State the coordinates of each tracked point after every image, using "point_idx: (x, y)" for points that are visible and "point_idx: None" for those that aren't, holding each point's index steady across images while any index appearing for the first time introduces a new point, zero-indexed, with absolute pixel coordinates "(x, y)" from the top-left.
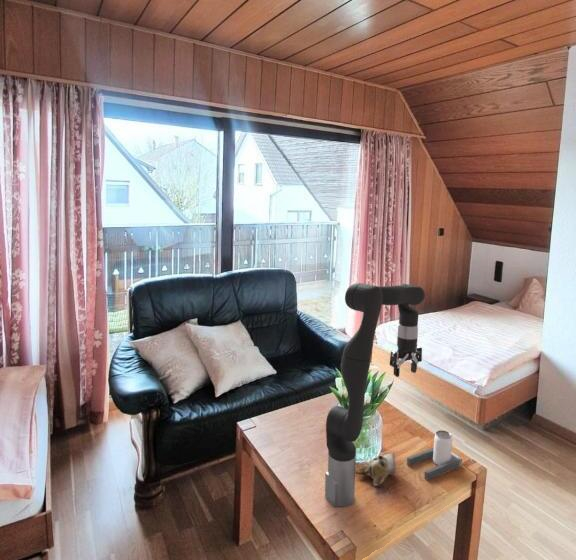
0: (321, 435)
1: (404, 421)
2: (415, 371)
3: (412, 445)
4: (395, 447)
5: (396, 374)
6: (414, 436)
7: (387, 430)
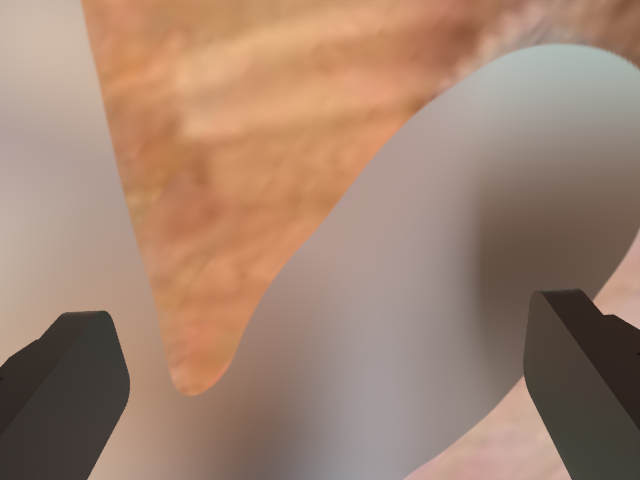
0: (607, 313)
1: (177, 266)
2: (67, 323)
3: (261, 79)
4: (355, 99)
5: (621, 334)
6: (203, 142)
7: (302, 236)
